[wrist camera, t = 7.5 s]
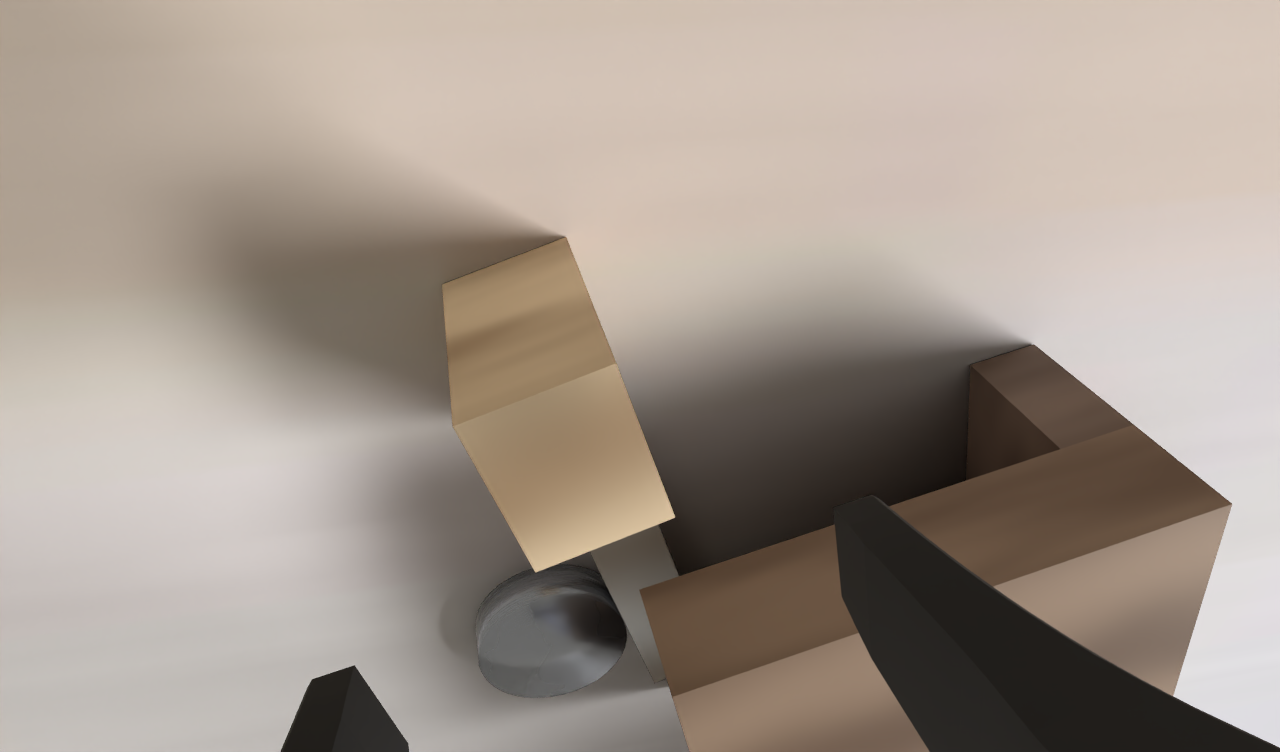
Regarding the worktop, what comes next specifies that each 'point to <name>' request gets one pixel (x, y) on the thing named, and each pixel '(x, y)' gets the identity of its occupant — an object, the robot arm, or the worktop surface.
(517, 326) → the wooden building block
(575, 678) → the disc
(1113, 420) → the cabinet
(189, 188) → the worktop surface
